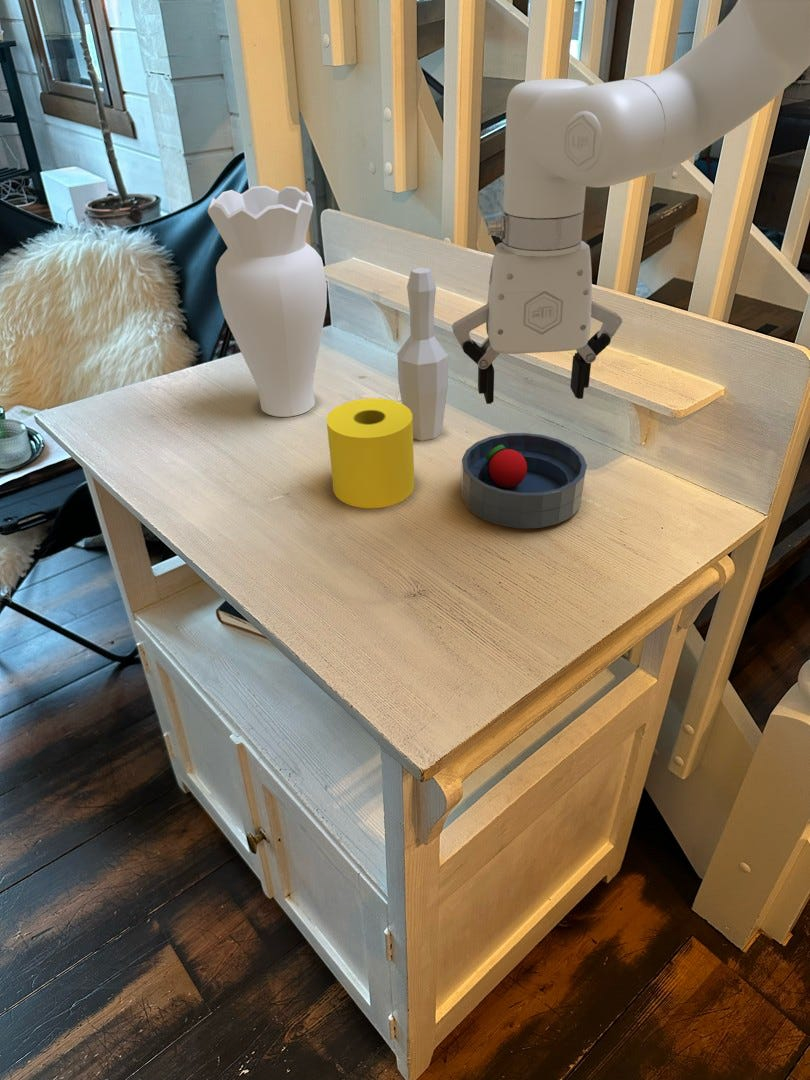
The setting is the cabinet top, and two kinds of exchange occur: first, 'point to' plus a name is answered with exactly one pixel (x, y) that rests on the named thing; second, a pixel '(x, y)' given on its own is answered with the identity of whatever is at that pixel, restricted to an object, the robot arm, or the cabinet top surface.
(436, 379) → the faceted bottle
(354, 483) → the yellow toilet paper roll
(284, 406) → the vase
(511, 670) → the cabinet top surface
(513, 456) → the toy tomato
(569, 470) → the bowl
